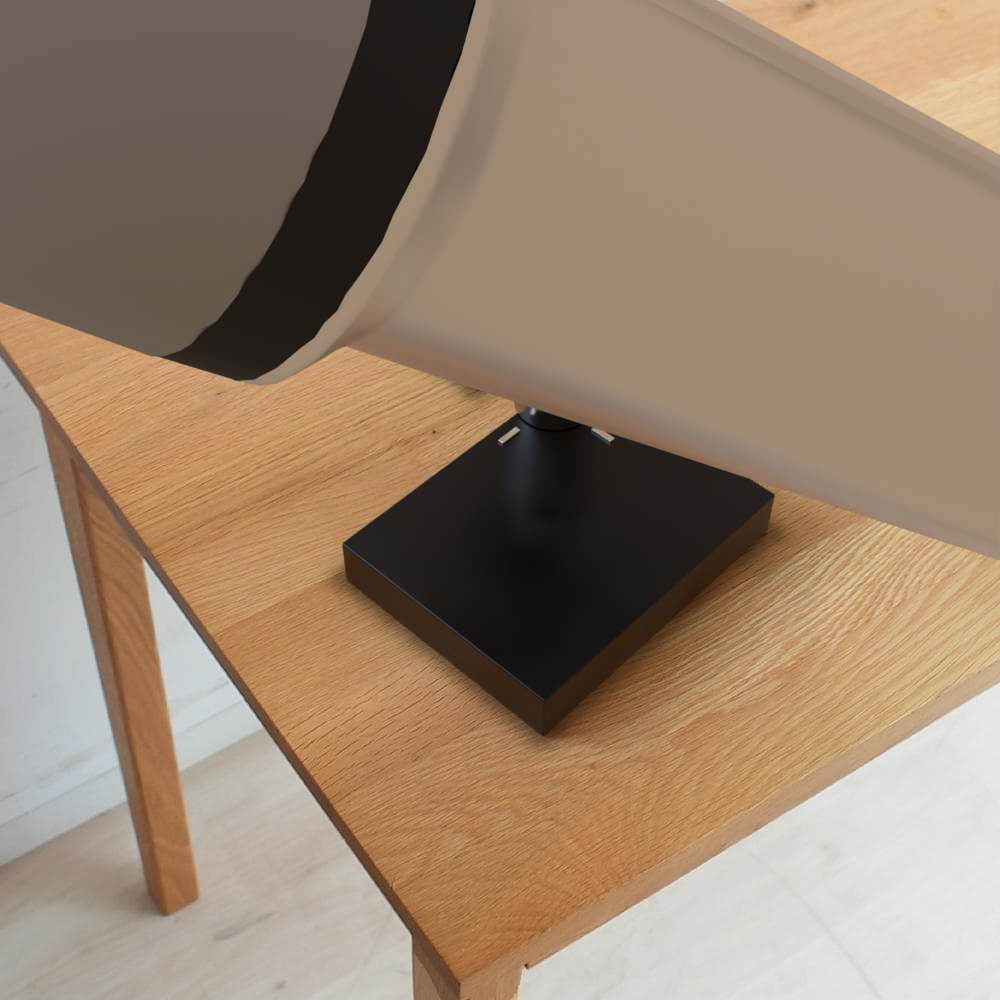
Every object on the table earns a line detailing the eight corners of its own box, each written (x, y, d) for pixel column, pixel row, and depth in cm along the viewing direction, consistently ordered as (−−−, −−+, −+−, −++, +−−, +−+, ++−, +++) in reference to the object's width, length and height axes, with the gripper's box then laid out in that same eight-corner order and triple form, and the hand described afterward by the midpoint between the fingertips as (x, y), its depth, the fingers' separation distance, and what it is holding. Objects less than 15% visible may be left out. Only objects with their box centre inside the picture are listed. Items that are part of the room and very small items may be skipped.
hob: (542, 737, 69) (544, 700, 67) (304, 546, 77) (297, 507, 75) (782, 518, 79) (791, 478, 76) (547, 368, 87) (548, 328, 84)
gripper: (683, 531, 56) (298, 270, 67) (957, 295, 66) (582, 100, 77) (703, 392, 51) (280, 131, 62) (1000, 157, 60) (589, -34, 71)
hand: (448, 114), depth 69 cm, fingers closed on pot, 7 cm apart
